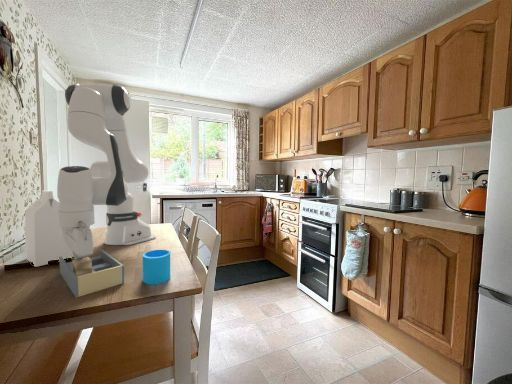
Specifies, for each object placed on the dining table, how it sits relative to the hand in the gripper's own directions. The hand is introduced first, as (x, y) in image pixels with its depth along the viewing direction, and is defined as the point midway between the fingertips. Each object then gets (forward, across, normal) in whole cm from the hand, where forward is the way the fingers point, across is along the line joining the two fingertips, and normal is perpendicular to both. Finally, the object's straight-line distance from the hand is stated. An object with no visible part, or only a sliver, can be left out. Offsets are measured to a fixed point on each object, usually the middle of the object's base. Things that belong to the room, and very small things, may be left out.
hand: (78, 263), depth 74 cm
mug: (+5, -14, -18) cm, 24 cm away
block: (+2, -4, 0) cm, 4 cm away
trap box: (+5, -1, -3) cm, 6 cm away
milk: (+5, +29, +3) cm, 29 cm away
